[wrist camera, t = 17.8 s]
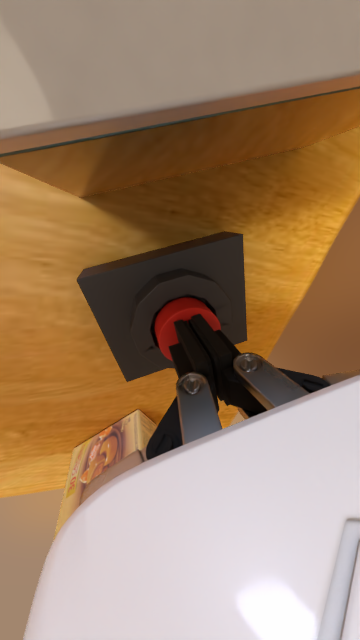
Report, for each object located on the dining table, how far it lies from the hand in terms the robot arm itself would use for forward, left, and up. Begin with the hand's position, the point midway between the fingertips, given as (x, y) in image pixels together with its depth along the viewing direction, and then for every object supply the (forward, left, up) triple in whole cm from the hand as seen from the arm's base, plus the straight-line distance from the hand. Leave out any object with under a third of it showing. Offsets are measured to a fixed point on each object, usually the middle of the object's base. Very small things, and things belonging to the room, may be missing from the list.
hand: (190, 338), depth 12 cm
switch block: (0, 0, -6) cm, 6 cm away
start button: (0, 0, -2) cm, 2 cm away
